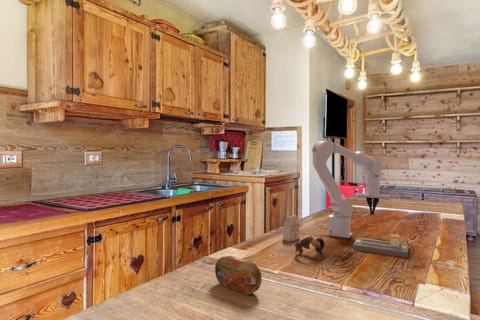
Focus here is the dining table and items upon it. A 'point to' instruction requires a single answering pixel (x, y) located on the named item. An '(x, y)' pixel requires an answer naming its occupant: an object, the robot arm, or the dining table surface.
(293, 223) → the grey upright block
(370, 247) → the panel
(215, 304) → the dining table surface
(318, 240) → the brown animal figurine
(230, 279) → the tin
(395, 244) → the block
